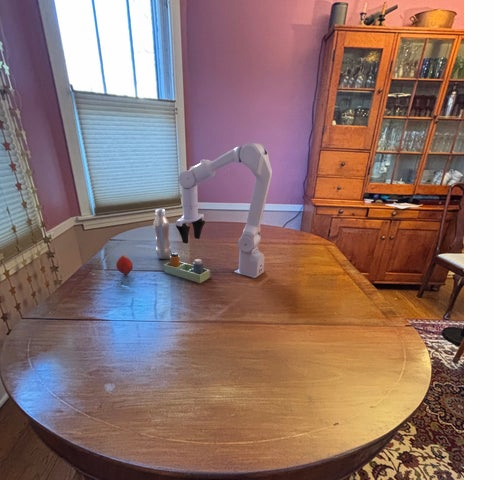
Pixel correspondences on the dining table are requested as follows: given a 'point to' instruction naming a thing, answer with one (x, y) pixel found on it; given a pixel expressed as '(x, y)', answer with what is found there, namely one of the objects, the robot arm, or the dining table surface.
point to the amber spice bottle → (174, 259)
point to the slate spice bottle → (198, 266)
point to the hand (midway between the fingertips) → (191, 240)
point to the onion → (124, 265)
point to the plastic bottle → (162, 235)
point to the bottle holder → (187, 272)
